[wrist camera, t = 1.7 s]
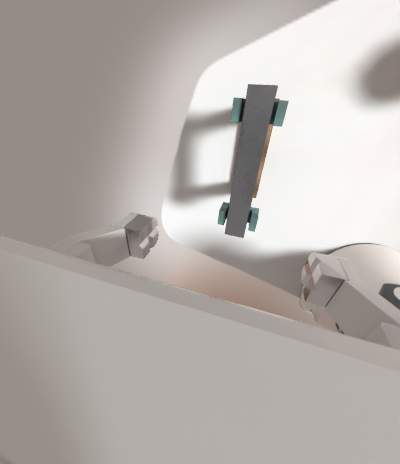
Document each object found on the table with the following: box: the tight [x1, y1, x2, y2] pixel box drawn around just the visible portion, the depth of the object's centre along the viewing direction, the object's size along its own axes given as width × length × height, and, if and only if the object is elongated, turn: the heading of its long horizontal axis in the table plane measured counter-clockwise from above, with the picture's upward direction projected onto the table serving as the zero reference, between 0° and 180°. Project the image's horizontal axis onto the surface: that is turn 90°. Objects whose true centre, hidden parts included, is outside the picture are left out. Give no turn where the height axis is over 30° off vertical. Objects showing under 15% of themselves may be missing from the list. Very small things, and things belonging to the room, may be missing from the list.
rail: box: [225, 84, 278, 238], centre depth 22 cm, size 16×2×2 cm, turn 177°
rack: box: [218, 98, 288, 231], centre depth 27 cm, size 15×5×14 cm, turn 177°
